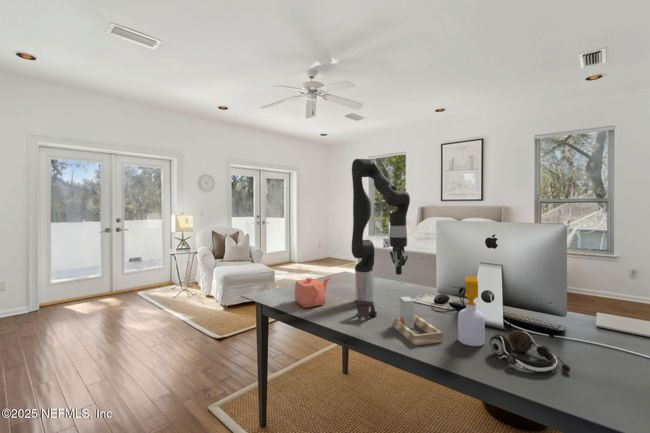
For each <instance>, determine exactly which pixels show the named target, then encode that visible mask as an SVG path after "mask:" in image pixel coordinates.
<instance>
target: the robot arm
mask: <svg viewBox="0 0 650 433" xmlns="http://www.w3.org/2000/svg"><path fill="white" fill-rule="evenodd" d="M351 178H352V190H353V191H352V192H353V193H352V195H353V197H352V199H353V200H352V218H353V219H352V237H351V254H352V256H353V257H354V259H360V260H359V262H358V263H356V264H355V266H354V271H355V272H354V273H355V274H354V275H355V279H354V280H355V284H354V285H355V300H362V301H371V302H374V272H373V271H374V265H375V245H374V243H373V241H372V240H371V239H364V232H365V229H366V227H367V225H368V223H369V220H370V219H371V215H372V203H371V199H370V198H369V195H368V194H367V192H366V190H365V188H364V186H363V185H364V184H363V178H371V179H372V180H373V186H374V189H376V190H377V192H379V193H380V194H381V195H382V197H383V200H384V202H385V203H386V205H388V206H390V207H392V208H393V207H396V211H393V212H391V213H390V215H389V246H390V247H391V248H392V251H390V252H389V254H390V257H391V261H392V263H393V264H394V266H395V274H396V275H398V276H400V275H402V272H403V269H402V267H403V266H405V265H406V262H407V260H408V258H409V257H408V255H406V254H405V253H406V251H405V248H406V247H407V246H408V229H407V213H408V212H409V207H410V203H411V197H410V194H409V192H408V191H407V190H396V189H397V188H396V185H395V184H394V183H393V182H391V181H390V180H389V179H388V178H387V177H386V176H385V175H384V174H383V172H382V171H381V170H380V169H379V167H378V166H377V164H376V163H375V162H374V161H373V160H371V159H367V158H356V159H355V158H354V160H353V162H352V164H351Z"/></svg>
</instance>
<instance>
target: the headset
mask: <svg viewBox="0 0 650 433" xmlns="http://www.w3.org/2000/svg"><path fill="white" fill-rule="evenodd" d="M532 345H533V346H535V347H532ZM489 347H490V350H491V351H492V353H493V354H494V355H495V356H496V357H497V358H498V359H501V360H502V359H503V358H505V359H506V361H507V363H508V364H509V365H512V366H513V365H517V367H519V368H520V369H524V370H526V371H529V372H531V373H536V374H547V373H550V372H552V371H553V370H554V369H555V368H556V367H557V365H558V360H559V361H560V362H561V369H562V371H563V372H565V373H569V372H570V371H571V368H570V366H569V365H568V363H567V364H566V363H564V362H563V360H562V359H561V358H560V357H559V356H558V355H557V354H556V353H554V352H552V351H551V350H550V349H549V347H547V346H545V345H539V344H538V343H536V342H535V340H534V338H533V336H532V335H530V334H529V333H528V332H526V331H523V330H518V329H517V330H516V329H514V330H512V331H511V332H510V334H509V335H508V337H507V336H506V335H503V334H501V333H497V334H495V335H494V336H493V335H492V337H490V339H489ZM536 347H537V348H536ZM513 350H514V351H516V352H518V353H521V354H525V353H530V352H531V351H533V350H536V352H537V354H538V355H539V356H540V357H542V358H545V359H546V360H547V361H544V362H543V361H539V362H538V361H532V360H528V359H527V360H526V359H524V358H521V357H519V356H518V355H517V354H516V353H514V352H513ZM557 359H558V360H557Z"/></svg>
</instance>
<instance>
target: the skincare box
mask: <svg viewBox="0 0 650 433" xmlns="http://www.w3.org/2000/svg"><path fill="white" fill-rule="evenodd" d="M414 306H415V305H414V300H413V299H412V298H411V297H410V296H400V297H399V321H400V322H401V323H402V324H404V325H405V326H406V327H408V328H409V329H410V330H412V329H413V330H414V329H415V324H414V315H415V310H414V309H415V308H414Z"/></svg>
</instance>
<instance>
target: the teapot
mask: <svg viewBox="0 0 650 433" xmlns="http://www.w3.org/2000/svg"><path fill="white" fill-rule="evenodd" d="M329 280H331V277H326V278H324V280H323V281H320V280H319V279H316V278H313V277H306V278H305V279H301V280H300V279H299V280H296V281H295V283H294V284H295V286H294V301H295V302H296V303H297V304H298V305H299V306H301V307H303V308H307V309H308V308H311V307H312V308H313V307H316V306H322V305H325V302H326V290H327V284H328V281H329Z"/></svg>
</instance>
